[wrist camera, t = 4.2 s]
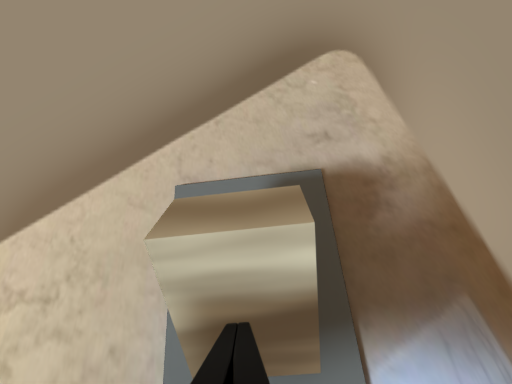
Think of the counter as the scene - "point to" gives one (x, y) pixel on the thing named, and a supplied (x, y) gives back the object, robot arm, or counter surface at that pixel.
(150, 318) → the counter surface
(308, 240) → the beige block
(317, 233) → the rubber mat
